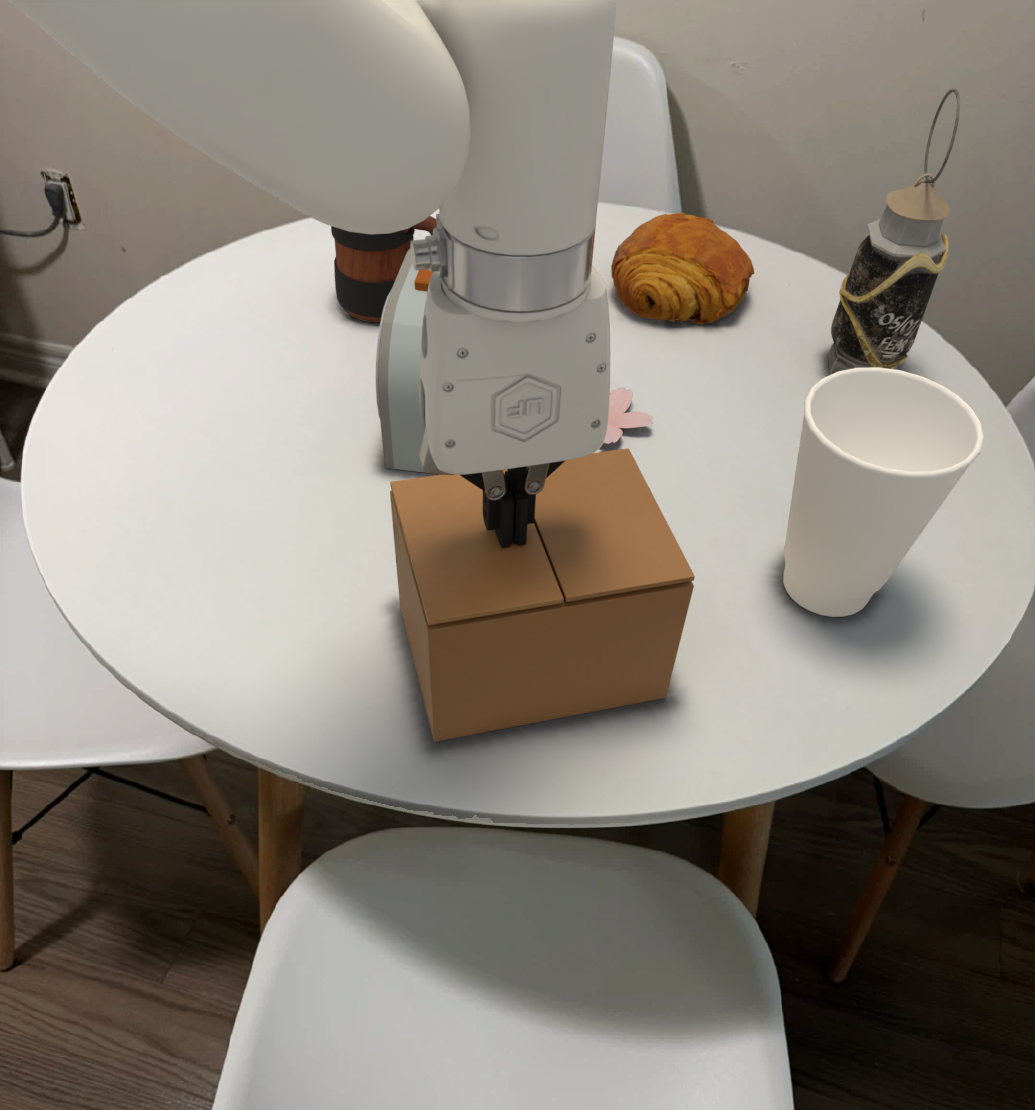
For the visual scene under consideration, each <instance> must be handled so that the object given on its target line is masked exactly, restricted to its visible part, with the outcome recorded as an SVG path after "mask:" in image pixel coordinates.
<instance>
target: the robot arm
mask: <svg viewBox="0 0 1035 1110" xmlns="http://www.w3.org/2000/svg"><path fill="white" fill-rule="evenodd" d="M7 1H8V2H9V3H10V4H11V5H13V6H14V7H15V8H16V9H17V10H19V11H20V12H22V14H24V15H25V16H26V17H27V18H29V20H31V21H32V22H33V23H34V24H36V26H37V27H39V28H40V29H42V30H43V31H44V32H45V33H46V34H47V35H49V36H50V37H51V38H52V39H53V40H54V41H55V42H57V43H58V44H59V45H60V46H61V47H62V48H63V49H65V50H66V51H67V52H68V53H70V54H71V55H72V56H73V57H74V58H75V59H76V60H77V61H79V62H80V63H81V64H83V66H85V67H86V68H87V69H88V70H89V71H90V72H92V74H94V75H95V76H96V77H98V78H99V79H100V80H102V82H103V83H105V84H106V85H108V86H109V87H110V88H111V89H112V90H113V91H115V92H116V93H117V94H119V95H120V96H121V97H122V98H124V99H125V100H127V101H128V102H129V103H130V104H132V106H134V107H136V108H137V109H138V110H139V111H141V112H142V113H143V114H145V115H146V116H147V117H149V118H151V120H153V121H155V122H156V123H158V124H159V125H160V126H161V127H163V128H164V129H166V130H167V131H169V133H171V134H173V135H174V136H176V137H177V138H179V139H180V140H181V141H183V142H185V143H187V144H188V145H190V146H191V147H193V148H194V149H196V150H197V151H198V152H200V153H202V154H204V155H205V156H207V157H208V158H210V159H211V160H213V161H214V162H216V163H218V164H220V165H222V166H223V167H224V168H226V169H228V170H229V171H231V172H233V173H234V174H236V175H237V176H240V177H241V178H243V179H244V180H246V181H247V182H249V183H251V184H252V185H254V186H255V187H258V188H260V189H261V190H262V191H263V192H265V193H267V194H269V195H270V196H272V197H273V198H276V199H277V200H279V201H280V202H282V203H283V204H285V205H287V206H289V207H291V208H292V209H294V210H295V211H297V212H299V213H301V214H303V215H305V216H307V217H309V218H311V219H313V220H314V221H318V222H320V223H323V224H325V225H327V226H329V227H331V226H333V227H336V228H339V229H343V230H346V231H349V232H356V233H364V234H387V233H393V232H397V231H401V230H404V229H408V228H410V227H412V226H414V225H416V224H418V223H420V222H422V221H424V220H425V219H426V218H428V217H429V216H432V215H433V214H434V213H435V212H437V211H438V213H436V214H435V215H436V216H435V219H436V224H437V228H433V235H432V236H431V235H426V236H425V237H424V238H423V239H422V238H421V239H414V240H412V241H411V244H410V247H411V258H412V264H413V268H414V270H424V269H429V271H430V272H433V271H434V272H433V273H432V275H431V278H430V281H429V286H428V291H427V296H426V302H425V309H424V316H423V325H422V338H421V353H420V377H419V398H420V413H421V419H422V423H423V425H424V427H425V431H424V436H423V440H422V444H421V448H420V453H419V457H420V460H421V464H422V467H423V470H424V472H423V473H425V472H426V474H429V475H454V474H457V475H461V476H462V477H463V478H465V479H466V480H468V481H469V482H471V483H472V484H474V485H475V486H477V487H478V488H480V489H481V490H483V519H484V523H485V526H486V529H487V531H488V530H495V532H496V535H497V538H498V540H499V543H500V546H501V548H506V547H510V545H511V544H512V543H513V542H514V544H517V545H518V546H519V545H525V544H526V539H527V524H533V523H534V519H535V503H536V494H538V493H539V492H541V491H542V489H543V488H544V484H545V480H546V478H547V477H548V476H549V475H551V474H552V473H553V472H554V471H555V470H556V469H557V468H558V467H559V466H560V465H562V464H563V463H564V462H565V461H566V460H572V459H577V458H581V457H584V456H587V455H589V454H592V453H596V452H597V451H598V450H599V449H600V448H601V447H603V444H605V443H604V440H605V437H606V432H607V426H608V416H609V400H610V393H611V325H610V324H611V322H610V321H611V320H610V309H609V308H610V307H609V296H608V290H607V284H606V281H605V279H604V278H603V276H602V275H601V274H600V273H599V272H598V271H597V269H596V268H595V266H593V259H594V247H595V236H596V228H597V227H596V226H597V215H598V206H599V195H600V187H601V186H600V185H601V173H602V164H603V154H604V142H605V134H606V133H605V132H606V124H607V123H606V122H607V113H608V101H609V93H610V92H609V91H610V81H611V72H612V71H611V70H612V60H613V51H614V41H615V40H614V39H615V30H616V13H617V0H7ZM450 442H451V443H450ZM504 469H507V471H505V475H504V472H503V470H504Z"/></svg>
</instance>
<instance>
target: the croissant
mask: <svg viewBox="0 0 1035 1110" xmlns="http://www.w3.org/2000/svg"><path fill="white" fill-rule="evenodd" d="M610 267H611V268H610V270H611V273H610V274H611V278H612V280H613V286H614V289H615V293H616V296H617V298H618V299H619V300H620V302H622V304H623V305H624V306H625V307H626V309H628V310H629V311H630V312H631V313H632V314H634V315H636V316H638V317H641V318H643V319H646V320H647V319H649V320H655V321H668V322H670V323H675V321H678V322H688V321H689V320H690V321H691V323H692V324H697V325H701V326H703V325H704V324H712V323H714V322H715V321H717V320H719V319H722V318H724V317H726V316H728V315H729V314H731V313H732V312H734V311H735V310H736V309H737V307H738V306H739V305H740V304H741V303H742V302H743V300H744V299H745V297H746V294H747V292H748V291H749V288H750V287H749V286H750V281H751V280H750V279H751V278H752V276H753V275H754V274H755V268H754V265H753V261H752V260H751V258H750V255H748V253H747V252H746V251H745V250H744V249H743V248H742V247H741V245H740V243H739V242H738V240H736V239H735V238H734V237H732V235H730V234H728V233H727V232H726V231H724V230H722V229H721V228H720V227H719V226H717V225H716V223H714V219H710V218H708V217H703V216H702V217H701V216H696V215H694V214H687V213H685V212H676V213H669V214H667V213H663V214H660V215H657V216H655V217H653V218H651V219H649V220H647V221H645V222H644V223H642V224H640V225H639V226H638V227H636V228H635V229H634V230H633V231H632V233H631V234H629V236H628V237H626V238H625V239H624V240H623V241H622V242H621V243H620V244H619V245H618V246H617V248H616V251H615V253H614V255H613V259H612V261H611V265H610Z"/></svg>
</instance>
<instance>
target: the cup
mask: <svg viewBox="0 0 1035 1110" xmlns="http://www.w3.org/2000/svg"><path fill="white" fill-rule="evenodd" d="M982 425H983V424H982V422H981V421H980V419H979V417H978V416H977V414H976V413H975V411H974V409H973V408H972V407H971V406H970V405H969V404H968V403H967V402H966V401H965V400H964V399H962V397H961V396H960V395H958V394H957V393H955V392H953V391H952V390H951V389H949V388H947V387H946V386H944V385H943V384H941V383H938V382H936V381H933V380H931V379H929V378H927V377H926V376H925V377H924V376H922V375H918V374H915V373H912V372H908V371H904V370H901V369H897V370H894V369H887V368H879V367H872V368H854V369H848V370H843V371H838V372H836V373H834V374H832V375H831V374H830V375H829V374H828V376H825V377H823V378H821V379H820V380H819V381H818V382H817V383H816V384H814V385H813V386H812V387H811V388H810V389H809V391H808V394H807V396H806V398H805V399H804V402H803V418H802V425H801V431H800V432H801V433H800V440H799V445H798V452H797V459H796V466H795V472H794V479H793V486H792V494H791V498H790V499H791V500H790V506H789V513H788V519H787V527H786V534H785V541H784V549H783V559H784V562H785V564H784V569H783V574H782V575H783V576H782V579H783V580H782V581H783V582H782V583H783V585H784V588H785V591H786V593H787V594H788V596H789V597H790V598H791V600H793V601H794V602H795V603H796V604H797V605H798V606H800V607H801V608H804V609H805V610H807V611H808V612H811V613H814V614H816V615H820V616H825V617H832V618H839V617H840V618H841V617H849V616H852V615H855V614H857V613H858V612H860V611H862V610H864V608H865V607H866V606H867V604H868V603H869V601H870V600H871V598H872V597H873V596H874V594H875V593H877V592H878V591H880V590H881V589H882V588H883V587H884V585H886V584H887V582H888V580H889V579H890V578H891V577H892V575H893V574H894V572H895V570H896V569H897V568H898V566H899V565H900V564H901V562H902V561H903V559H904V558H905V557H906V555H907V554H908V553H909V552H910V550H911V548H912V547H913V545H914V544H915V543H916V541H917V540H918V538H919V537H920V536H921V534H922V533H923V531H924V530H925V529H926V527H927V526H928V525H929V523H930V522H931V520H932V519H933V517H934V516H935V514H937V512H938V511H939V509H940V507H941V506H942V505H943V503H944V502H945V500H946V499H947V498H948V496H949V495H950V494H951V492H952V491H953V490H954V488H955V487H956V485H957V484H958V483H959V481H960V479H961V478H962V477H963V475H964V474H965V472H966V471H967V470H968V469H969V467H970V466H971V465H972V463H973V462H974V461H975V460H976V459H977V458H978V457H979V455H981V451H982V448H983V443H984V440H985V436H984V431H983V426H982Z"/></svg>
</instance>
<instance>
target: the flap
mask: <svg viewBox="0 0 1035 1110" xmlns="http://www.w3.org/2000/svg"><path fill="white" fill-rule="evenodd" d="M505 471H507V469H504V470H503V472H504V475H505ZM389 483H390V484H389V485H390V490H392V493H393V497H394V500H395V504H396V508H397V511H398V515H399V519H400V522H401V526H402V530H403V533H404V537H405V541H406V544H407V548H408V552H409V555H410V559H411V563H412V566H413V570H414V574H415V577H416V581H417V585H418V588H419V592H420V596H421V599H422V603H423V607H424V610H425V614H426V618H427V621H428V625H433V624H439V623H445V622H451V621H457V620H463V619H469V618H475V617H481V616H488V615H494V614H500V613H506V612H512V611H518V610H524V609H530V608H536V607H542V606H548V605H554V604H560V603H563V600H564V598H563V596H562V593H561V591H560V588H559V586H558V583H557V580H556V578H555V575H554V573H553V570H552V568H551V565H550V563H549V560H548V558H547V555H546V553H545V550H544V547H543V545H542V542H541V540H540V537H539V535H538V532H537V530H536V527H535V525H534V523H533V524H527V539H526V544H525V545H519V546H518V545H517V544H514V542H513V543H512V544H511V545H510V547H506V548H501V546H500V543H499V540H498V538H497V535H496V532H495V530H488V531H487V529H486V526H485V523H484V519H483V490H481V489H480V488H478V487H477V486H475V485H474V484H472V483H471V482H469V481H468V480H466V479H465V478H463V477H462V476H461V475H457V474H454V475H440V474H434V475H429V476H422V477H414V478H413V477H412V478H407V479H406V478H405V479H400V480H393V481H390V482H389Z"/></svg>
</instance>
